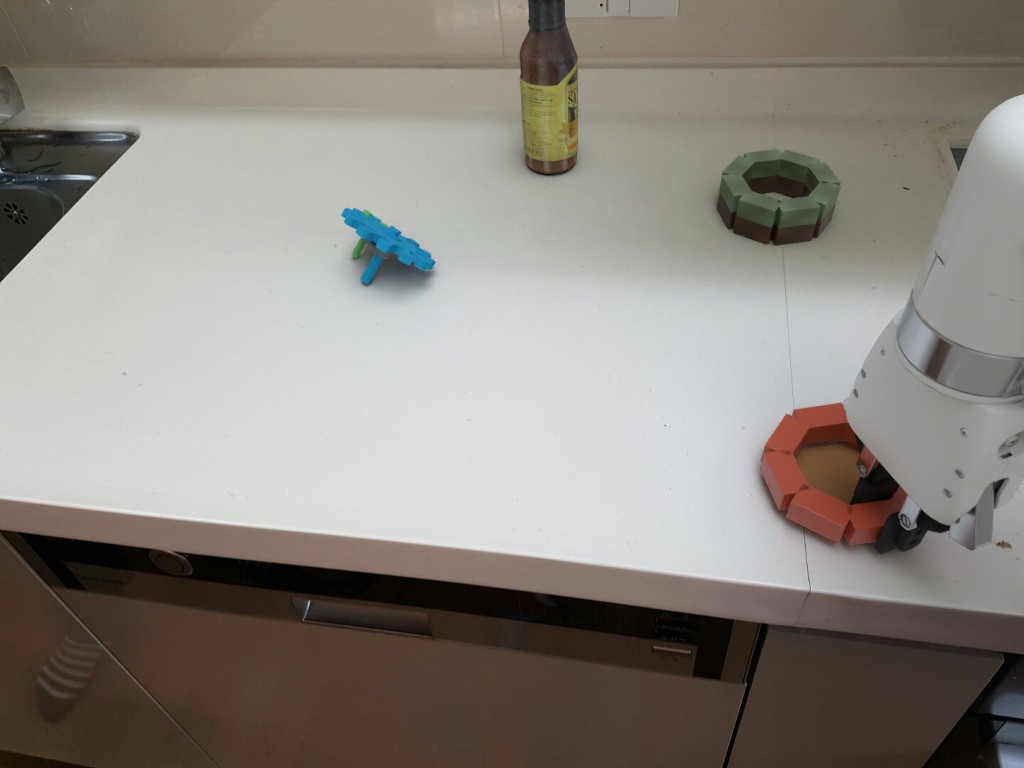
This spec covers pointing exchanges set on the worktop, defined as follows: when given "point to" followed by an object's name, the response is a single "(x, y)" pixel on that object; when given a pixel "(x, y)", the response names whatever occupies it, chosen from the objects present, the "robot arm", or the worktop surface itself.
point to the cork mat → (831, 468)
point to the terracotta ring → (807, 501)
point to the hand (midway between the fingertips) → (881, 525)
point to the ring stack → (772, 216)
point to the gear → (383, 243)
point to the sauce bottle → (549, 89)
